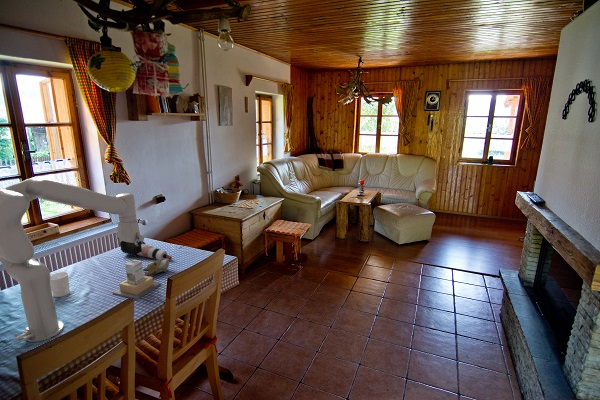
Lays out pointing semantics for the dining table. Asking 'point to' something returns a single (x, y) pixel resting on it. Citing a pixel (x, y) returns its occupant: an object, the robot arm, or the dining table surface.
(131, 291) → the socket
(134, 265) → the syrup box
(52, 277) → the white cup
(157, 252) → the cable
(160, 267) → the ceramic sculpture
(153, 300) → the dining table surface
